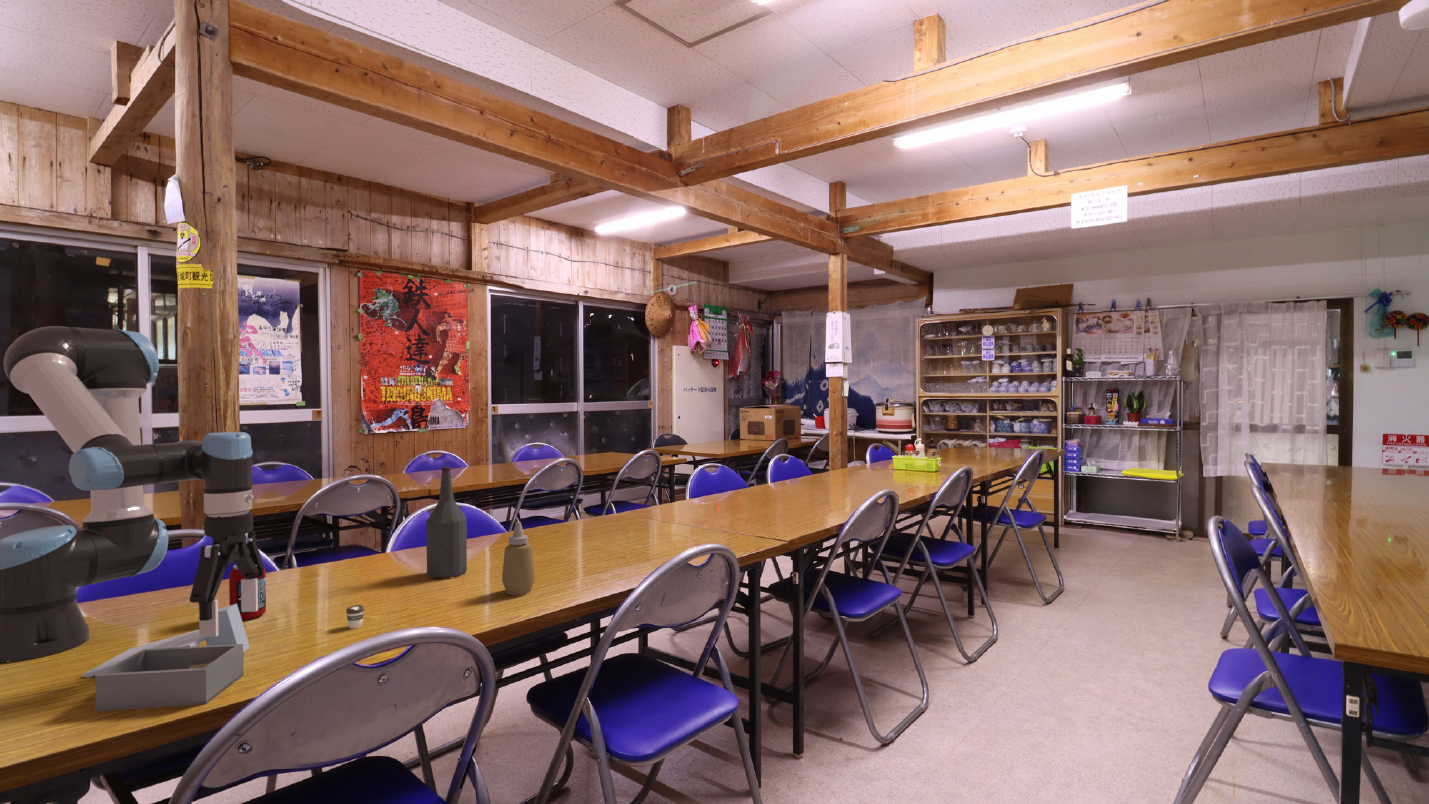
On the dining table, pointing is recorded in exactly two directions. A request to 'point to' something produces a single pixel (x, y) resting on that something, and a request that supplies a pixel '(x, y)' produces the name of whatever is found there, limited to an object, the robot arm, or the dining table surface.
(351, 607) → the coffee cup
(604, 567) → the dining table surface
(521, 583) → the squeeze bottle
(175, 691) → the tub
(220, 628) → the lid
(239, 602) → the beverage can
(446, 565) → the bottle
